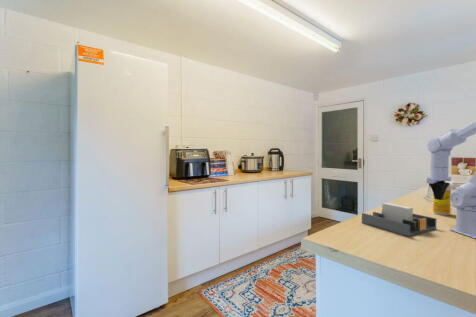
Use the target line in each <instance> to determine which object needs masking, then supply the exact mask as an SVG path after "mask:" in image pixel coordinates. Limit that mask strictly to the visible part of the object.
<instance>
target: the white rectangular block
mask: <svg viewBox="0 0 476 317" xmlns="http://www.w3.org/2000/svg"><path fill="white" fill-rule="evenodd" d="M381 214H384V219H388V220H392V221H396V222H400V223H403V220H404V219H406V220H410V221H413V214H414V207H410V206H405V205H401V204H395V203H392V202H391V203H390V202H383V203H382V204H381Z"/></svg>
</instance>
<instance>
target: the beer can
mask: <svg viewBox="0 0 476 317" xmlns="http://www.w3.org/2000/svg"><path fill="white" fill-rule="evenodd" d="M445 182H446V183H449V186H448V187H447V189H446V191H445V193H444V196H443V199H442V200H438V199H435V197H434V194H433V200H432V202H433V204H432V211H433V213H434V214H435V215H438V216H449V215H450V214H451V199H450V196H451V193H452V190H451V189H452V188H451V187H452V185H451V183H450V181H445Z"/></svg>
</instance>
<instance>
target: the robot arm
mask: <svg viewBox="0 0 476 317" xmlns="http://www.w3.org/2000/svg"><path fill="white" fill-rule="evenodd" d="M475 135H476V119H475V120H474V121H471V122H470V123H468V124H467V125H464V127H461V128H460V129H453V128H452V129H449V130H448V132H447V133H444V135H443V134H442V135H440V136H439V137H437V138H435V137H432V138H430V139H428V142H427V143H426V147H427V150H428V151H429V152H430V169H429V170H430V171H429V172H430V176H426V184H428V185H429V187H430V189H431V190H432V193H433V194H434V197H435V199H438V200H442V199H443V196H444V193H445V191H446V189H447V187H448V186H449V183H450V182H451V179H452V176H449V164H450V163H449V158H450V156H451V153H452V150H453V148H455V147H456V146H458V145H461V144H464V143H465V142H466V141H467V138H468V137H471V136H475ZM446 182H449V183H446ZM450 199H451V200H450V203H451V204H452V205H453V207H454V208H456V212H455V213H456V215H455V216H456V217H455V218H456V220H455V227H451V228H449V231H452V232H455V233H458V234H460V235H463V236H467V237H469V238H472V239H476V171H475V172H474V173H473V175H472V176H471V177H470V180H469V181H468V182H466V183H464V184H461V185H459V186H458V187H457V189H455V190H453V191H451V196H450Z"/></svg>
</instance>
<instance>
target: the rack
mask: <svg viewBox="0 0 476 317" xmlns="http://www.w3.org/2000/svg"><path fill="white" fill-rule="evenodd" d="M361 224H365V225H368V226H370V227H373V228H374V227H375V228H377V227H378V229H381V230H385V231H388V232H390V233H393V234H394V233H395V234H398V235H401V236H404V237H407V238H410V237H413V236H416V235H420V234H423V233H427V232H429V231H434V230H436V229H437V218H435V217H432V216H431V217H430V216H425V215H421V214H417V213H413V221H410V220H406V219H404V220H403V223H400V222H396V221H392V220H388V219H384V214H382V212H377V211H373V212H372V214H369V213H365V212H363V213H361Z"/></svg>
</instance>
